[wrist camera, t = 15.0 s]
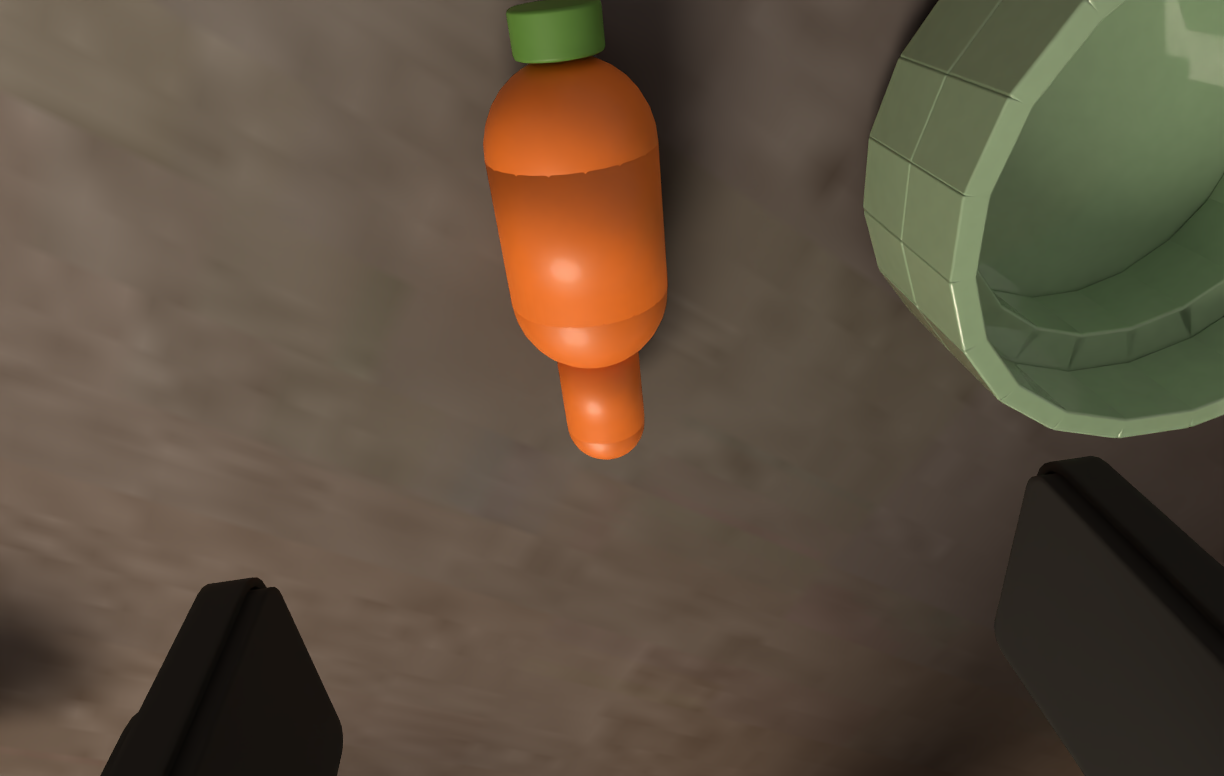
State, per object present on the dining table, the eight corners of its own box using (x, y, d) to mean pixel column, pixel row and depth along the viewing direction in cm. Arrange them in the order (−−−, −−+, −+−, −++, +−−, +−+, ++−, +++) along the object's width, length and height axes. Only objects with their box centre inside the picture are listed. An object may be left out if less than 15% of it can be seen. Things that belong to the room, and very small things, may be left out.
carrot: (473, 3, 17) (440, 27, 14) (645, -16, 17) (653, 3, 14) (547, 417, 24) (536, 502, 20) (673, 407, 24) (683, 490, 20)
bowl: (1215, 306, 24) (1382, 400, 19) (841, 360, 24) (921, 468, 19) (1389, -164, 17) (1704, -192, 13) (876, -102, 17) (1010, -108, 12)
